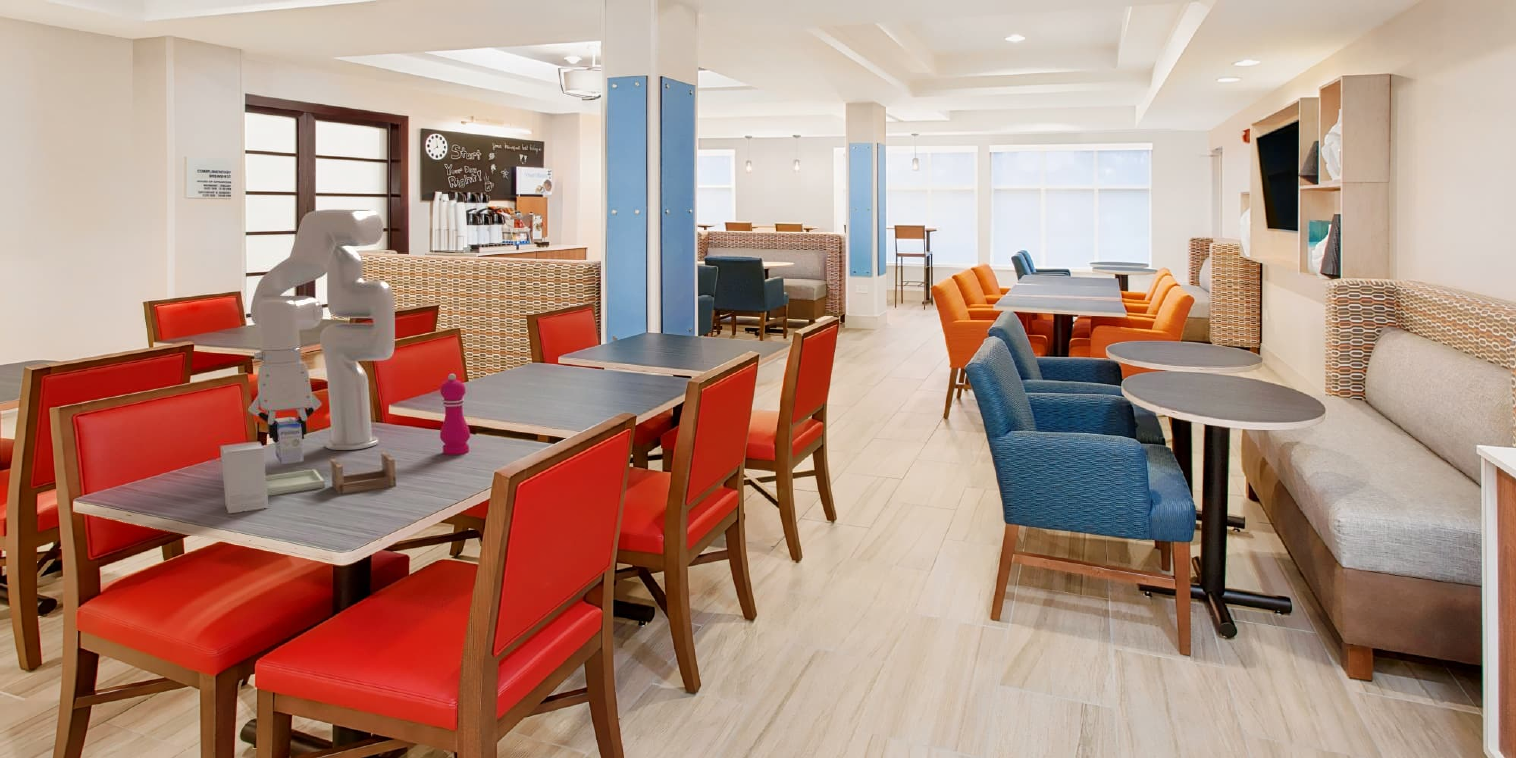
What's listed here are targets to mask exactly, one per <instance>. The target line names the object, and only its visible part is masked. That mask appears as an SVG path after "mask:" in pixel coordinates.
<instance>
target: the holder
mask: <svg viewBox="0 0 1516 758" xmlns="http://www.w3.org/2000/svg"><path fill="white" fill-rule="evenodd" d="M380 455H381V456H380V457H381V470H372V471H365V472H359V473H352V474H345V475H344V468H343V467H344V466H343V465H342V464H341V463H340V462H339V461H338V460H337V459H336V458H331V459H330V460H329V461H330V471H331V484H332V487H333V489H335V491H336V492H337V493H338V494H339V495H343V494H349V493H357V492H363V491H369V490H370V489H371V490H376V489H383V488H390V487H396V486H397V483H396V482H397V481H396V480H397V479H396V466H395V463H396V462H395V458H394V457H393V456H391V455H390V454H389V453H387V451H385V452H384V451H383V452H381V454H380Z"/></svg>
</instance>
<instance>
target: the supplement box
mask: <svg viewBox="0 0 1516 758" xmlns="http://www.w3.org/2000/svg"><path fill="white" fill-rule="evenodd" d="M220 458H221V459H220V461H221V467H222V468H221V471H222V480H223V489H224V490H223V492H224V499H225V507H226V509H227V513H228V514H234V513H243V511H244V512H248V511H249V512H250V511H257V510H263V509H264V508H265V509H268V508H269V498H268V497H269V496H268V494H267V483H266V476H267V475H266V464H265V451H264V447H263V445H262V443H261V441H251V442H241V443H235V444H226V445H220Z"/></svg>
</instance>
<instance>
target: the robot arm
mask: <svg viewBox="0 0 1516 758" xmlns="http://www.w3.org/2000/svg"><path fill="white" fill-rule="evenodd" d="M383 234H384V223H383V219H382V217H381V216H380V214H379V213H378V212H376V211H375V210H372V209H321V210H313V211H310V212H308V213H306V214H305V215H304V216H303V217H302V218H301V221H300V224H299V227H298V230H297V233H296V236H295V239H294V241H293V246H292V248H291V251H290V254H289V257H287V258H286V259H284V260H282V261H280V262H279V263H278V264H277V265H275V266H273V267H272V268H271V269H270V270H269V271H268V272H267V273H265V274H264V276H262V277H261V279H260V280H259V281H258V283H257V286H256V288H255V291H254V295H253V297H252V301H251V304H250V305H251V306H250V318H251V321H252V323H253V324H254V326H256V327H258V328H259V336H260V351H259V352H255V353H254V354H253V357H254V360H259V361H261V362H262V363H259V365H258V374H257V396H256V397H255V399H254V400H253V402H252V403H251V404H250V406H249V408H248V412H249V413H250V414H252V415H254V416H256V417H258V418H260V419H261V420H263V421H264V422H266V424H267V427H268V428H267V429H268V438H269V439H272V441H273V443H274V444H275V442H278V433H277V424H276V423H275V421H274V419H276V418H275V417H276V412H278V411H279V412H280V411H289V410H296V412H297V415H298V417H297V418H298V419H296V420H297V421H298V422H299V423H300V424H301V431H302V440H305V436H306V435H307V432H308V431H307V422H306V421H307V420H308V419H309V417H310V416H311V415H312V414H313V413H314V412H315V411H317V409H319V408H320V407H321V406H322V405H323V403H322V402H321V401H320V400H319V399H318V397H316V395H315V394H314V393H313V392H312V386H311V385H312V384H311V378H310V374H309V369H308V365H307V362H306V361H303V360H302V350H301V339H300V338H301V337H300V331H301V330H306V331H308V330H312V329H314V328H316V327H317V326H319V325H320V324H321V322H322V320H323V318H324V308H323V306H322V304H321V303H320V301H319V300H318V299H317V298H315V297H313V296H309V295H283V294H284V293H285V292H287V291H290V290H291V289H294V288H296V287H299V286H301V285H304V284H308V283H310V282H313V281H314V280H318V279H320V278H322V277H324V276H325V275H326V299H327V301H326V303H327V308H328V309H327V310H328V312H329V313H330V315H332V316H334V317H335V318H343V319H371V320H372V321H373V323H372V322H370V323H363V322H362V323H359V322H351V323H350V322H348V323H347V322H346V323H345V322H344V323H343V322H341V323H340V322H339V323H334V324H330V325H327V326H326V327H325V328H324V329H323V330H321V333H320V337H319V338H320V339H319V341H320V348H321V352H322V355H323V359H324V364H325V369H326V379H327V392H328V404H329V419H330V430H331V431H330V432H331V439H328V440H327V441H326V442H325V448H327V449H329V450H334V451H353V450H354V451H355V450H361V449H366V448H371V447H375V446H376V445H378V444H379V438H378V437H377V436H375V435H373V433H372V419H371V403H370V389H369V378H368V374H367V372H366V371H365V369H364V368H363V367H362V366H361V364H360V363H359V362H363V361H366V362H368V361H370V362H371V361H373V362H375V361H376V362H377V361H386V360H389V359H390V358H392V357H393V355H394V353H395V346H396V345H395V344H396V319H395V318H396V316H395V314H396V307H395V305H396V304H395V303H396V302H395V295H394V291H393V289H392V287H391V286H390V285H389V284H388V283H387V282H385V281H382V280H365V278H364V261H363V259H362V258H361V256H360V254H359V253H358V252H357V250H356V249H355V248H354V247H367V246H371V245H375V244H377V243H379V242H380V241H381V239H382V237H383ZM259 407H260V408H261V410H263V411H261V410H259ZM264 411H265V412H266V413H265V412H264Z"/></svg>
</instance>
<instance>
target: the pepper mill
mask: <svg viewBox="0 0 1516 758" xmlns="http://www.w3.org/2000/svg"><path fill="white" fill-rule="evenodd" d="M456 378H457V377H456V374H455V373H450V374H449V375H448V380H446V381H444V382H442V384H441V385H440V388H439V392H440V395H441V397H442V398H443V400H442V402H443V404H442V406H444V411H445V413H444V415H445V416H444V419H443V424H442V425H441V428H440V431H439V432H440V433H439V438H440V440H441V442H443V443H444V444H443V445H442V452H443V453H442V454H444V455H449V456H457V455H463V454H467V453H469V451H470V445H469V443H467V442H468V440H469V439H470V438H471V432H470V431H471V430H470V428H469V425H468V423H467V422H466V420H465V416H464V413H463V411H464V410H463V405H464V404H465V402H464V400H465V399H464V398H463V397H464V396H465V394H466V386H465V384H464V383H463V382H462V381H461V380H458V379H456Z"/></svg>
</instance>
